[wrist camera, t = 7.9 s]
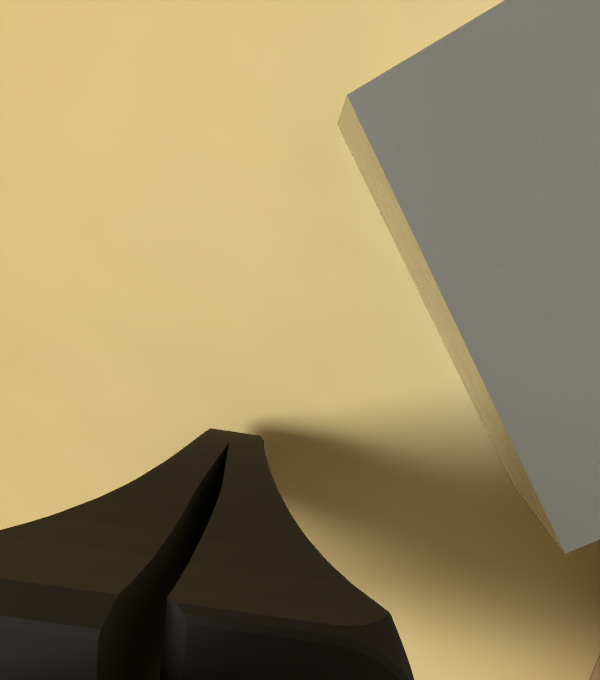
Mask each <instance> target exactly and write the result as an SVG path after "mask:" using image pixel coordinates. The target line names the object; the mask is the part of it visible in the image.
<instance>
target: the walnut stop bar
mask: <svg viewBox="0 0 600 680" xmlns="http://www.w3.org/2000/svg"><path fill="white" fill-rule="evenodd" d="M590 680H600V657H599V659H598V661H597V664H596V666H595V669H594V671H593V674H592V676H591V679H590Z"/></svg>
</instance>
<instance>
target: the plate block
mask: <svg viewBox="0 0 600 680" xmlns="http://www.w3.org/2000/svg"><path fill="white" fill-rule="evenodd" d="M337 125H338V127H339V129H340V131H341V133H342V135H343V137H344V139H345V141H346V143H347V145H348V147H349V149H350V151H351V153H352V155H353V157H354V160H355V162H356V164H357V166H358V168H359V170H360V172H361V174H362V176H363V178H364V180H365V182H366V184H367V186H368V188H369V190H370V192H371V194H372V196H373V199H374V201H375V203H376V205H377V207H378V209H379V211H380V213H381V215H382V217H383V219H384V221H385V223H386V225H387V227H388V229H389V231H390V233H391V236H392V238H393V240H394V242H395V244H396V246H397V248H398V250H399V252H400V254H401V256H402V258H403V260H404V262H405V264H406V266H407V268H408V270H409V273H410V275H411V277H412V279H413V281H414V283H415V285H416V287H417V289H418V291H419V293H420V295H421V297H422V299H423V301H424V303H425V305H426V307H427V309H428V312H429V314H430V316H431V318H432V320H433V322H434V324H435V326H436V328H437V330H438V332H439V334H440V336H441V338H442V340H443V342H444V344H445V346H446V349H447V351H448V353H449V355H450V357H451V359H452V361H453V363H454V365H455V367H456V369H457V371H458V373H459V375H460V377H461V379H462V381H463V383H464V386H465V388H466V390H467V392H468V394H469V396H470V398H471V400H472V402H473V404H474V406H475V408H476V410H477V412H478V414H479V416H480V418H481V420H482V422H483V425H484V427H485V429H486V431H487V433H488V435H489V437H490V439H491V441H492V443H493V445H494V447H495V449H496V451H497V453H498V455H499V457H500V459H501V462H502V464H503V466H504V468H505V470H506V472H507V474H508V476H509V478H510V480H511V482H512V484H513V485H514V486H515V488H516V489H517V490H518V492H519V493H520V494H521V496H522V497H523V498H524V500H525V501H526V502H527V504H528V505H529V506H530V508H531V509H532V510H533V512H534V513H535V515H536V516H537V517H538V519H539V520H540V521H541V523H542V524H543V525H544V527H545V528H546V529H547V531H548V532H549V533H550V535H551V536H552V537H553V539H554V540H555V541H556V543H557V544H558V545H559V547H560V548H561V549H562V551H563V552H564V553H565V554H566V553H569V552H571V551H574V550H576V549H578V548H581V547H583V546H586V545H588V544H591V543H593V542H595V541H598V540H600V0H505V1H503V2H501V3H500V4H498V5H496V6H495V7H493V8H491V9H490V10H488V11H486V12H485V13H483V14H481V15H480V16H478V17H476V18H475V19H473V20H471V21H470V22H468V23H466V24H465V25H463V26H461V27H460V28H458V29H456V30H455V31H453V32H451V33H450V34H448V35H446V36H445V37H443V38H441V39H440V40H438V41H436V42H435V43H433V44H431V45H430V46H428V47H426V48H425V49H423V50H421V51H420V52H418V53H416V54H415V55H413V56H411V57H410V58H408V59H406V60H405V61H403V62H401V63H400V64H398V65H396V66H395V67H393V68H391V69H390V70H388V71H386V72H385V73H383V74H381V75H380V76H378V77H376V78H375V79H373V80H371V81H370V82H368V83H366V84H365V85H363V86H361V87H360V88H358V89H356V90H355V91H353V92H351V93H350V94H348V95H347V97H346V100H345V103H344V106H343V109H342V112H341V115H340V118H339V121H338V124H337Z"/></svg>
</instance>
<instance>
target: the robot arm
mask: <svg viewBox="0 0 600 680" xmlns="http://www.w3.org/2000/svg"><path fill="white" fill-rule="evenodd" d="M0 680H414V678H413V674H412V671H411V667H410V664H409V661H408V658H407V656H406V653H405V650H404V647H403V644H402V642H401V639H400V637H399V634H398V631H397V629H396V626H395V624H394V621H393V619H392V616H391V614H390V613H389V612H388V611H387V610H385V609H384V608H383V607H381V606H380V605H379V604H378V603H376V602H375V601H374V600H372V599H371V598H370V597H368V596H367V595H366V594H364V593H363V592H362V591H360V590H359V589H358V588H356V587H355V586H354V585H353V584H351V583H350V582H349V581H348V580H347V579H346V578H345V577H344V576H343V575H341V574H340V573H339V572H338V571H337V570H336V569H335V568H334V567H333V566H332V565H331V564H330V563H329V562H328V561H327V560H326V559H325V558H324V557H323V556H322V555H321V554H320V552H319V551H318V550H317V549H316V548H315V547H314V546H313V545H312V543H311V542H310V541H309V540H308V539H307V537H306V536H305V534H304V533H303V532H302V530H301V529H300V528H299V526H298V524H297V523H296V521H295V520H294V518H293V517H292V515H291V514H290V512H289V510H288V508H287V507H286V505H285V503H284V501H283V499H282V497H281V495H280V493H279V491H278V489H277V487H276V484H275V482H274V479H273V477H272V474H271V472H270V469H269V466H268V463H267V459H266V456H265V451H264V441H263V439H262V438H261V436H258V435H251V434H244V433H237V432H231V431H224V430H217V429H209V430H207V431H206V432H204V433H203V434H202V435H200V436H199V437H198V438H196V439H195V440H194V441H192V442H191V443H190V444H188V445H187V446H186V447H184V448H183V449H182V450H180V451H179V452H178V453H176V454H175V455H173V456H172V457H171V458H169V459H168V460H166V461H165V462H163V463H162V464H160V465H159V466H157V467H155V468H154V469H152V470H151V471H149V472H147V473H146V474H144V475H142V476H141V477H139V478H137V479H136V480H134V481H132V482H130V483H128V484H126V485H124V486H122V487H120V488H118V489H116V490H114V491H112V492H110V493H108V494H105V495H103V496H101V497H99V498H96V499H94V500H91V501H89V502H86V503H83V504H81V505H78V506H76V507H73V508H70V509H68V510H65V511H62V512H60V513H57V514H54V515H51V516H48V517H45V518H42V519H38V520H35V521H32V522H29V523H25V524H21V525H18V526H14V527H10V528H6V529H3V530H0Z"/></svg>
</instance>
